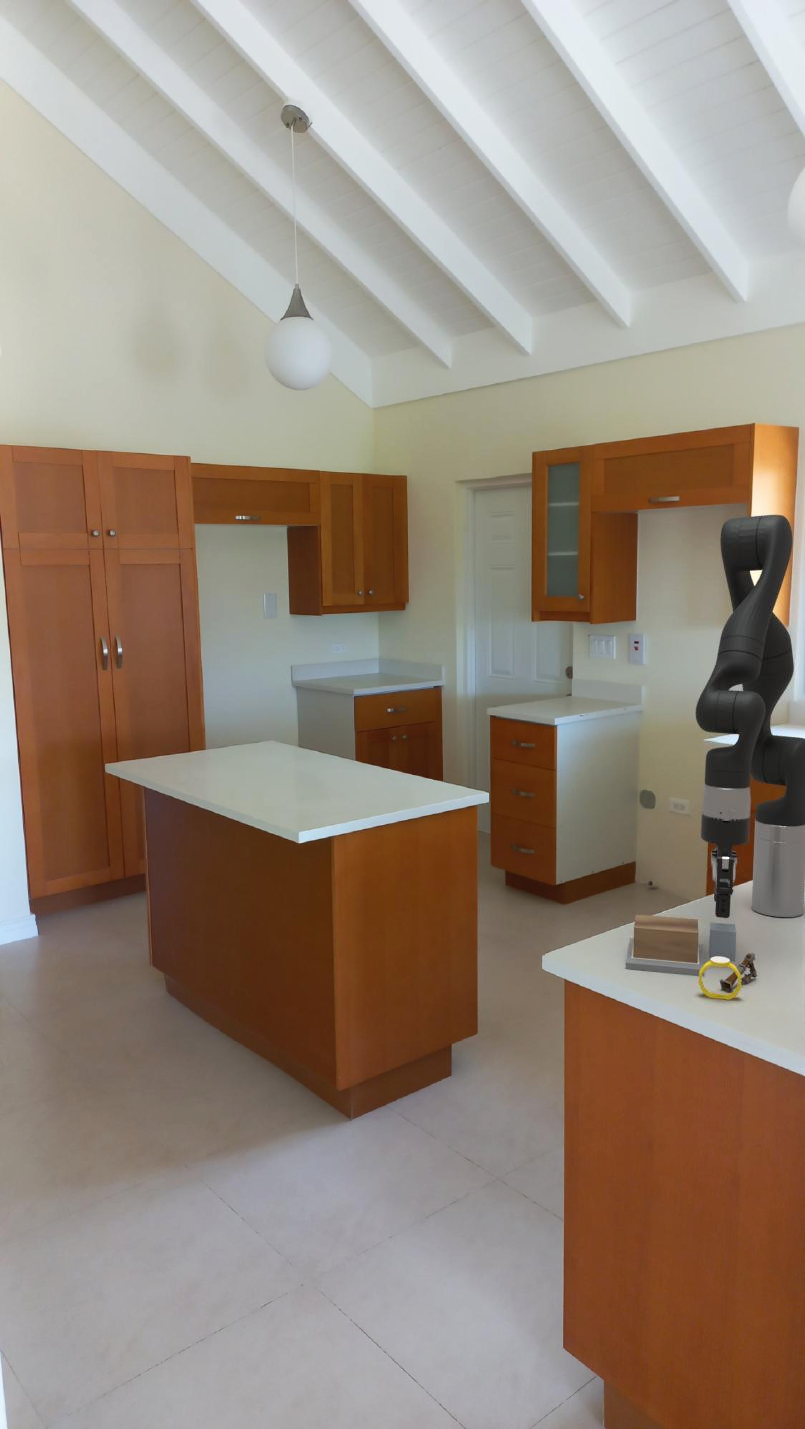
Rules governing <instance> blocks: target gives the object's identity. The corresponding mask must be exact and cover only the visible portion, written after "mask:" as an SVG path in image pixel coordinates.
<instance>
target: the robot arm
mask: <svg viewBox="0 0 805 1429" xmlns="http://www.w3.org/2000/svg"><path fill="white" fill-rule="evenodd" d="M721 527H722V528H721V530H720V539H719V541H720V553H721V559H722V565H723V569H724V574H725V579H726V584H727V589H728V593H729V597H730V603H731V608H732V613H731V615H729V617H728V619H727V620H726V622H725V625H724V626H723V628H722V631H721V634H720V638H719V644H718V650H717V651H718V652H717V655H716V660H715V664H714V667H713V670H712V671H711V674H710V677H709V679H708V681H707V683H706V684H705V686H704V688H703V690H702V691H701V694H700V696H699V698H698V700H697V702H696V707H695V719H696V722H697V725H698V726H699V728H700V729H701V730H702V731H704V732H706V733H712V734H713V733H714V734H728V735H738V738H737V741H736V742H735V744H733V745H729V746H721V747H715V748H710V749H709V750H708V751H707V752H706V755H705V762H704V763H705V764H704V765H705V766H704V767H705V769H704V785H703V786H704V787H703V793H702V798H701V799H702V801H701V825H700V827H701V828H700V838H701V840H702V841H704V842H706V843H709V844H714V849H711V850H710V851H711V852H710V860H711V872H712V881H713V882H714V886H713V887H714V888H713V890H714V893H713V901H714V902H715V910H714V911H715V913H714V914H715V916H716V918H719V919H721V918H722V919H728V918H730V917H731V898H732V895H733V893H734V887H733V886H734V884H733V883H735V881H736V867H737V864H738V855H737V851H734V850H733V847H734V846H742V845H746V844H747V843H749V841H750V831H751V830H750V827H751V826H750V825H751V806H752V799H751V798H752V797H751V796H752V795H751V778H752V779H753V781H755V782H757V783H760V784H766V785H775V786H780V787H781V786H783V787H785V792H784V795H783V796H782V797H779V798H777V799H776V798H775V799H772V800H766V801H763V802H761V803H758V804H757V805H756V807H755V811H754V812H755V813H754V814H755V815H754V842H753V867H752V869H753V870H752V890H751V891H752V892H751V894H752V895H751V909H752V910H754V911H755V912H756V913H759V914H761V915H765V916H770V917H777V918H795V917H800V916H801V915H803V914H804V911H805V908H804V907H805V738H804V737H795V736H787V735H777V734H773V733H772V730H771V719H772V714H773V712H774V709H775V707H776V705H777V704H778V702H779V700H780V699H781V697H782V695H783V694H784V692H785V691H786V690H787V688H788V686H789V684H790V683H791V681H792V679H793V676H794V672H795V666H794V665H795V663H794V654H793V646H792V644H793V643H792V639H791V634H790V633H789V631H788V629H787V628H786V626H785V625H784V624H783V622H782V621H781V620H780V618H779V617H778V616H777V615H776V614H775V613H774V609H775V606H776V603H777V600H778V597H779V594H780V593H781V592H780V591H781V589H782V587H783V586H782V585H783V582H784V579H785V576H786V573H787V570H788V567H789V564H790V560H791V555H792V551H793V550H792V549H793V532H792V527H791V523H790V521H789V519H788V518H787V517H786V516H785V515H782V514H767V515H766V514H765V515H753V516H743V517H741V516H740V517H733V518H730V519H728V520H726V521H725V522H724V523H723V525H722V526H721ZM752 571H754V572H756V571H761V572H760V575H759V578H758V579H757V581H756V583H755V584H754V581H753V580H754V579H753V578H752V574H751V572H752ZM739 685H742V690H731V688H733V687H735V686H739Z"/></svg>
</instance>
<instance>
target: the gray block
mask: <svg viewBox="0 0 805 1429" xmlns="http://www.w3.org/2000/svg"><path fill="white" fill-rule="evenodd" d="M708 938H709V939H708V941H709V942H708V956H709V957H708V958H709V960H710V959H711V958H712V957H716V956H720V957H726V958H728V959H729V960H730V962H736V954H737V953H736V951H737V950H736V948H737V929H736V924H733V923H723V922H709V936H708Z"/></svg>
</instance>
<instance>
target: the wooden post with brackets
mask: <svg viewBox="0 0 805 1429" xmlns="http://www.w3.org/2000/svg"><path fill="white" fill-rule="evenodd" d="M755 960H756V954H755V952H751V953H750V952H748V953H747V954H746V955H745V957H744V959H743V961H742V962H741V963H739V964H738V965H737V966H736V968H737V969H738V971H739V973H740V975H741V976H742V975H743V974H744V975H743V976H742V977H741V985H748V984H749V982H752V978H754V979H755V978H757V977H758V974H757V968H756V967H755V965H754V964H755V963H754V961H755ZM747 968H748V969H749V972H748V973H745V972H747ZM737 980H738V977H737V975H736V973H735V972H734V971H733V972H732V973H731V974H730V975H729V976H728V977H727V978H725V979H723V978H720V979H719V983H720V988H721V989H722V990H726V991H729V992H731V993H732V992H733V991H734V989H733V986H734V985H735V983H736V981H737Z"/></svg>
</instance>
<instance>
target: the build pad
mask: <svg viewBox="0 0 805 1429" xmlns="http://www.w3.org/2000/svg"><path fill="white" fill-rule="evenodd" d="M633 945H634V937H631V938H630V937H629V940H628V948H627V955H626V961H625V969H626V970H634V971H647V972H656V973H664V974H665V973H667V974H677V975H678V974H679V975H686V976H687V975H688V976H689V975H690V976H698V977H699V973H700V969H701V968H702V967H703V965H704V964H705V959H704V958H705V957H704V945H703V944H701V943H698V963H688V962H677V961H666V960H655V959H644V958H633ZM702 977H705V972H704V973H703V974H702Z"/></svg>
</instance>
